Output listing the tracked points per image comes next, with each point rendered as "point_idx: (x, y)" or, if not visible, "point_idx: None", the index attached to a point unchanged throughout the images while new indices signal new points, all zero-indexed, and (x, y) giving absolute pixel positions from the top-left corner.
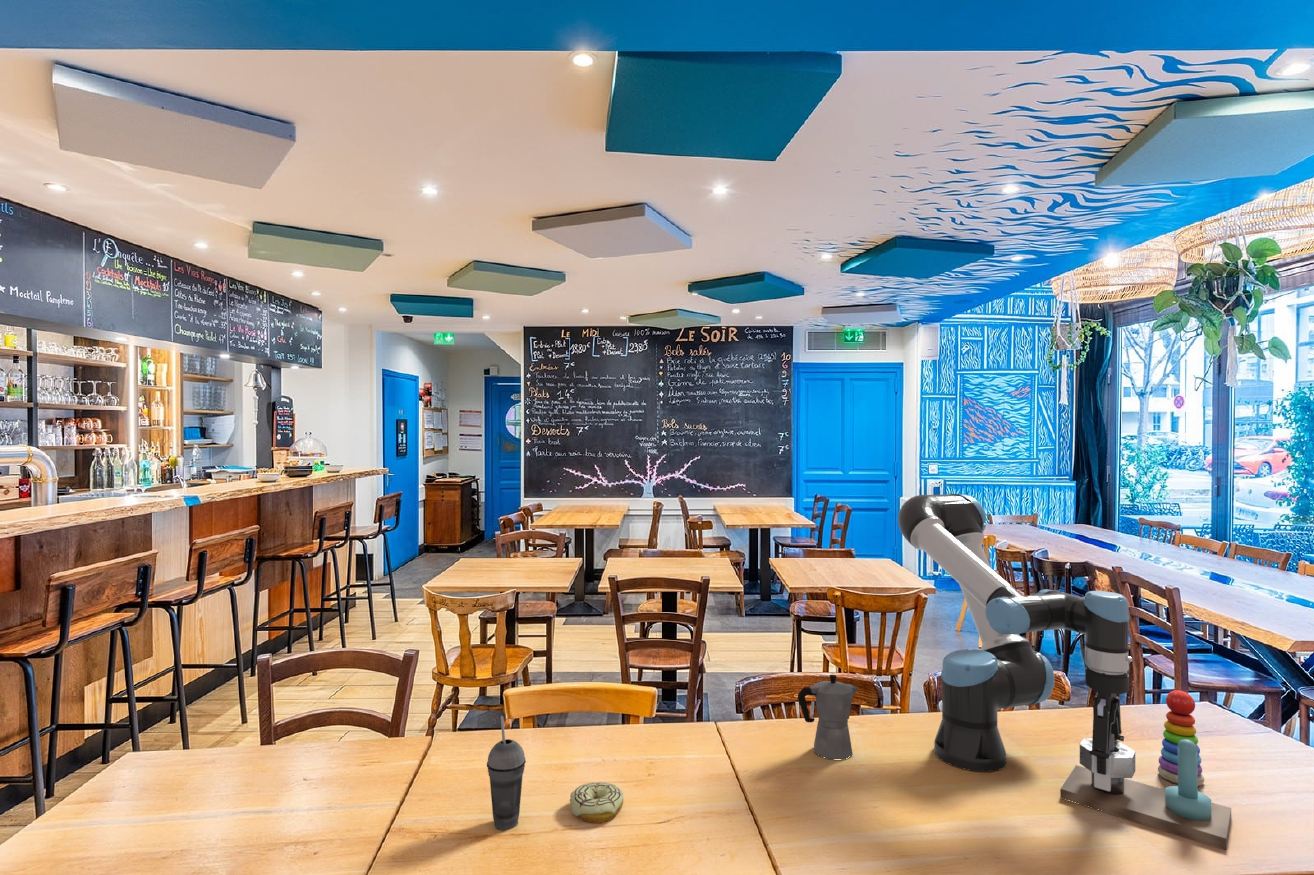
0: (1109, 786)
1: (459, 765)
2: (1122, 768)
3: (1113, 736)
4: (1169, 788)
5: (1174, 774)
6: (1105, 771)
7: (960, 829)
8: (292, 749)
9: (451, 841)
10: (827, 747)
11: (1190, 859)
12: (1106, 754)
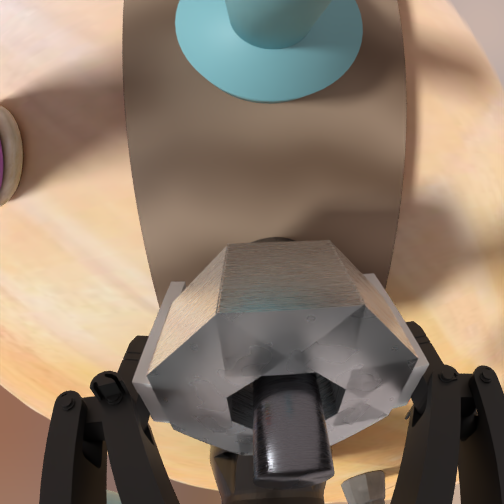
0: (379, 285)
1: (458, 475)
2: (374, 298)
3: (312, 464)
4: (252, 85)
5: (6, 159)
6: (415, 331)
7: (499, 365)
8: (456, 483)
9: None
10: (384, 482)
11: (478, 63)
12: (494, 380)
